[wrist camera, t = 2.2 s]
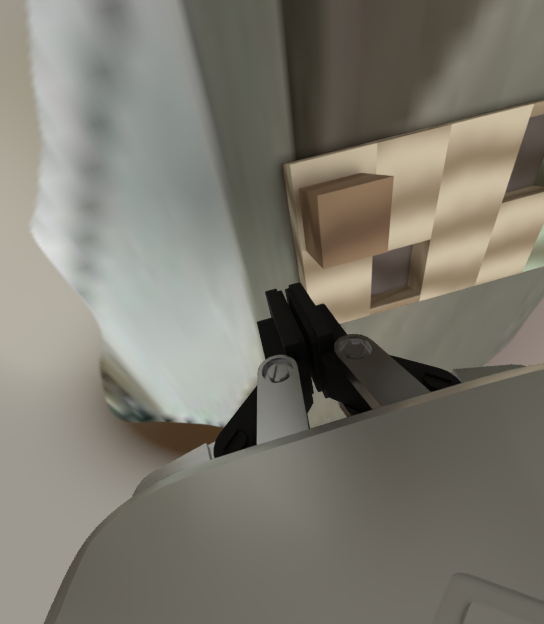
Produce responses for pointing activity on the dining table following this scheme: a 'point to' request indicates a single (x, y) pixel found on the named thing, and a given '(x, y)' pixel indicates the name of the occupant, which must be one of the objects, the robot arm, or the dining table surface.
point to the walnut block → (347, 218)
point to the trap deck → (435, 211)
